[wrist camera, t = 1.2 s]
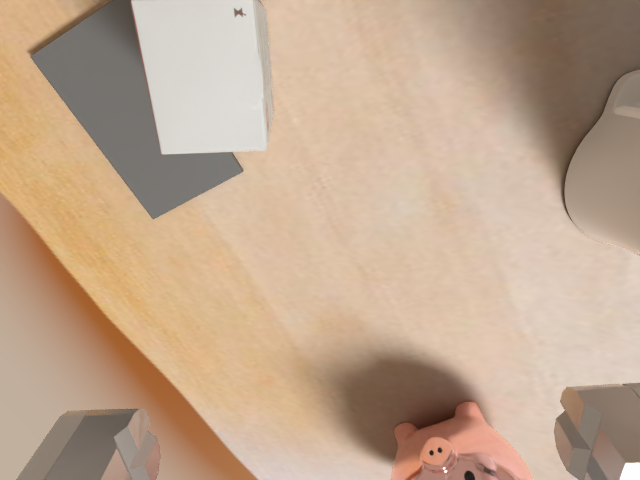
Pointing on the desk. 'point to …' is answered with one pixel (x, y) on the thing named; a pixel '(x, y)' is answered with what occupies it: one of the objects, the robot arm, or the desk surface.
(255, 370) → the desk surface
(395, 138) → the desk surface
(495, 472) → the piggy bank
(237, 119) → the small box
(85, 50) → the mat
